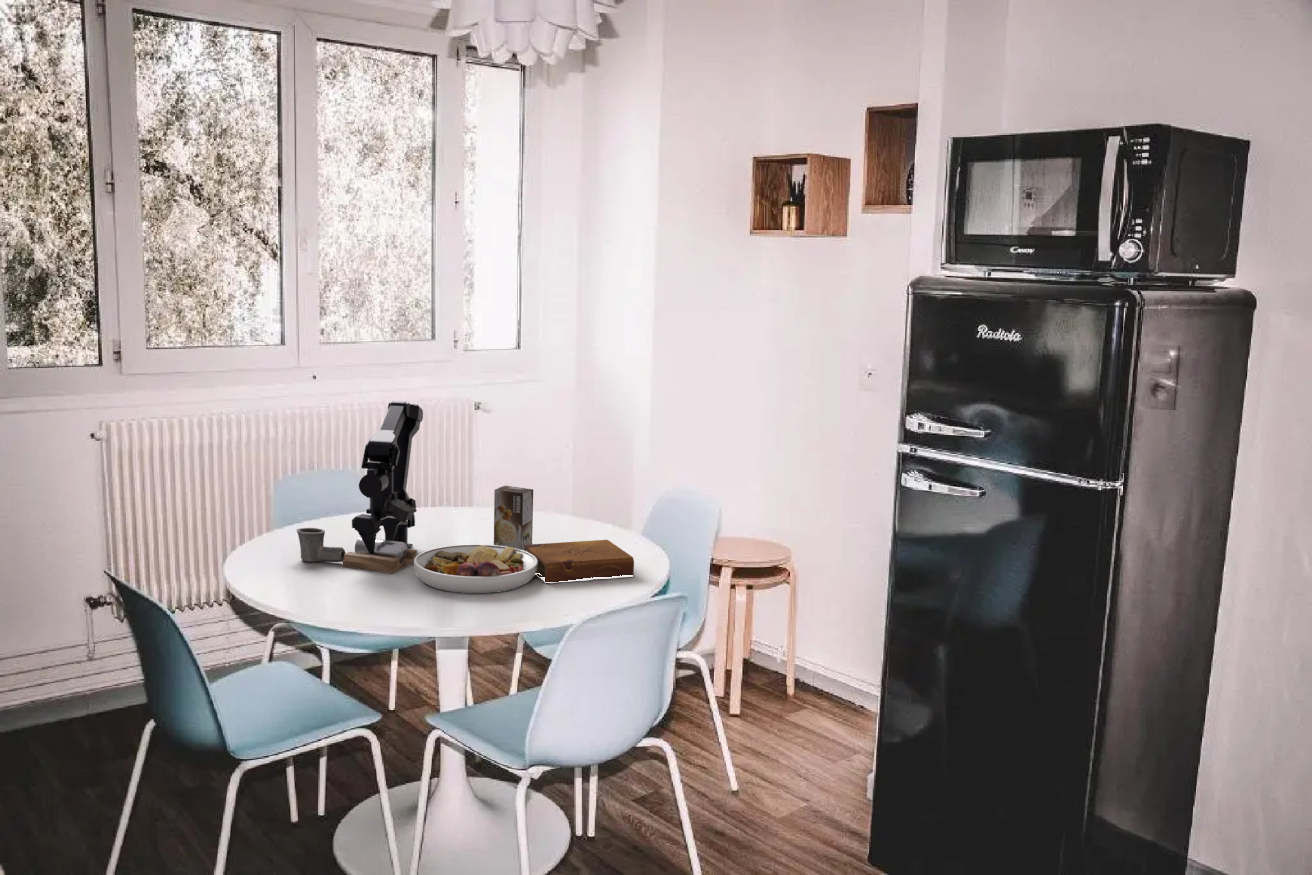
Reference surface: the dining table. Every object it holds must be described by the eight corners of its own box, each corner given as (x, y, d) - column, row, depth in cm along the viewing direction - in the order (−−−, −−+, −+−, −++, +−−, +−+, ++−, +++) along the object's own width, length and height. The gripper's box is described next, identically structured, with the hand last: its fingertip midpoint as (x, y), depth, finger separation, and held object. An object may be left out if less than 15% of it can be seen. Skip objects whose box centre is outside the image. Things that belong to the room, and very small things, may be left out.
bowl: (402, 567, 298) (402, 536, 297) (516, 559, 310) (517, 530, 309) (429, 602, 271) (429, 569, 270) (553, 592, 283) (554, 560, 282)
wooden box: (546, 587, 288) (546, 564, 287) (523, 566, 305) (524, 544, 304) (633, 579, 297) (634, 557, 296) (606, 559, 314) (607, 538, 313)
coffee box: (533, 546, 322) (535, 489, 319) (522, 551, 316) (523, 493, 314) (503, 542, 325) (505, 484, 323) (492, 547, 320) (493, 489, 317)
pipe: (338, 567, 294) (338, 536, 293) (291, 562, 297) (290, 531, 295) (349, 561, 300) (349, 530, 299) (302, 556, 303) (302, 525, 301)
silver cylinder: (365, 553, 303) (364, 534, 302) (407, 559, 299) (407, 540, 299) (354, 558, 298) (354, 539, 297) (397, 564, 295) (397, 545, 294)
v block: (369, 554, 307) (369, 542, 307) (418, 560, 303) (418, 549, 303) (342, 566, 295) (342, 554, 294) (392, 573, 291) (392, 561, 290)
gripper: (391, 499, 285) (390, 562, 287) (428, 485, 302) (427, 544, 305) (350, 494, 288) (350, 556, 290) (389, 480, 305) (388, 539, 308)
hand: (381, 549), depth 298 cm, fingers open, 9 cm apart
